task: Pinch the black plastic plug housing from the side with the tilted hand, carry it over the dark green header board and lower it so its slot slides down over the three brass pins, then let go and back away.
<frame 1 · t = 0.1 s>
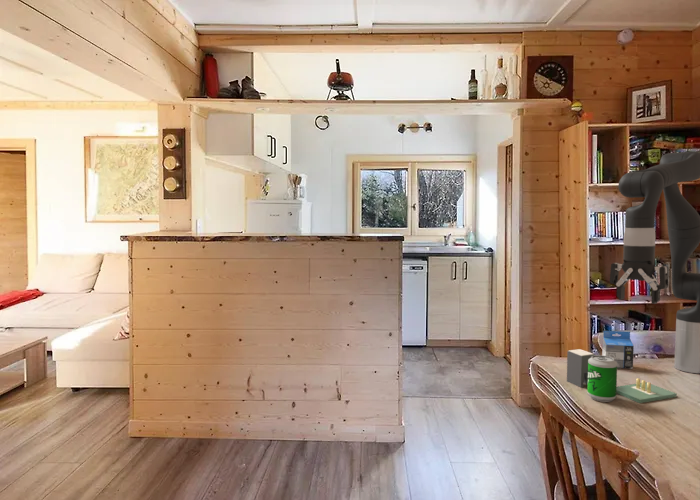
hand: (637, 301, 133), 29 cm above the table, tool pointing down, fingers open, 8 cm apart
plug housing: (580, 383, 150), on the table
soda can: (601, 398, 139), on the table
blue retail box: (617, 367, 166), on the table
header board: (643, 393, 141), on the table
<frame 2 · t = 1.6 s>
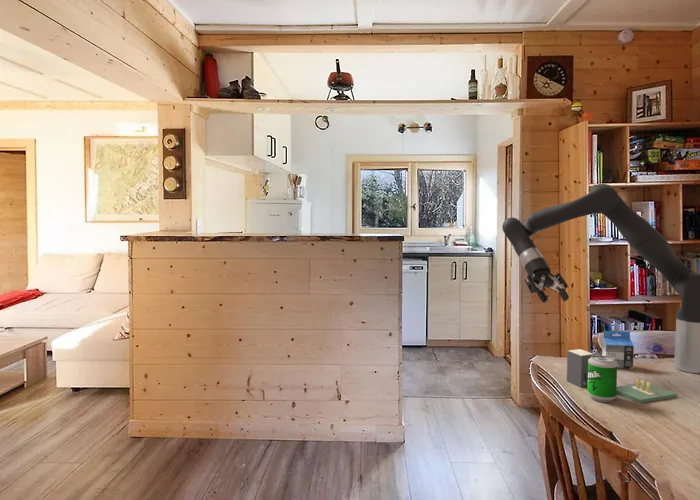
hand: (556, 300, 159), 25 cm above the table, tool tilted 45°, fingers open, 8 cm apart
nothing on the table moved.
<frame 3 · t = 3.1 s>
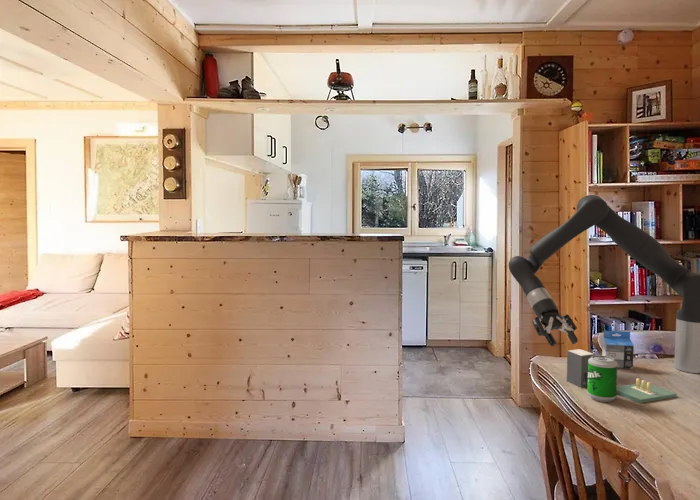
hand: (564, 344, 156), 11 cm above the table, tool tilted 45°, fingers open, 8 cm apart
nothing on the table moved.
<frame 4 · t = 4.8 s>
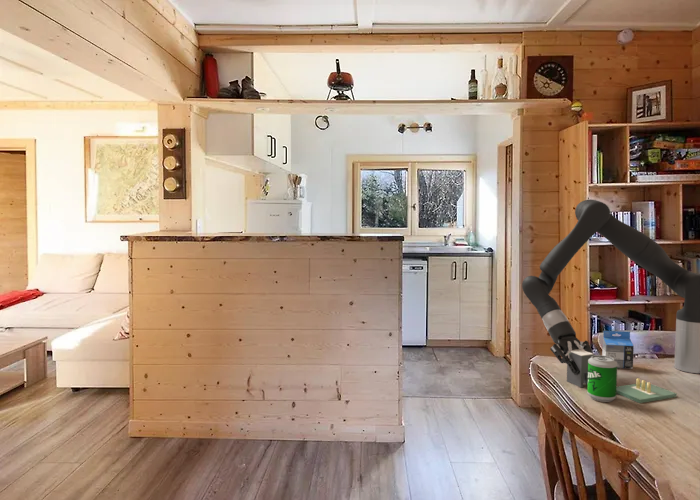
hand: (584, 372, 148), 4 cm above the table, tool tilted 45°, fingers closed on plug housing, 5 cm apart
plug housing: (580, 383, 150), on the table, touching gripper
everything else where it was.
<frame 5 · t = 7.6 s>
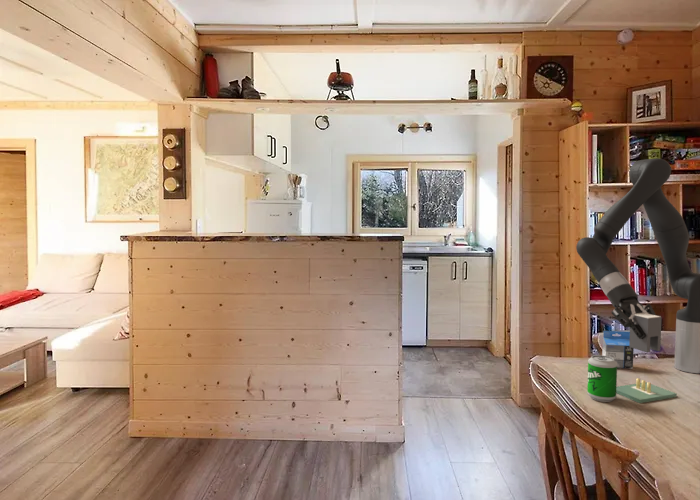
hand: (650, 336, 138), 18 cm above the table, tool tilted 45°, fingers closed on plug housing, 5 cm apart
plug housing: (644, 348, 140), point 14 cm above the table, touching gripper
everything else where it was.
when the fingers open (7 cm above the table, at t = 10.6 s): plug housing drops 1 cm, resting on header board.
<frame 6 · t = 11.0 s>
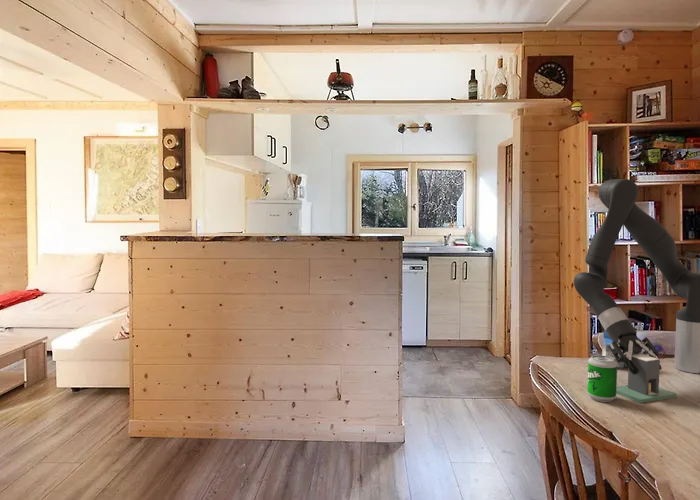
hand: (648, 371, 140), 7 cm above the table, tool tilted 45°, fingers open, 8 cm apart
plug housing: (642, 390, 141), point 1 cm above the table, touching header board
everything else where it was.
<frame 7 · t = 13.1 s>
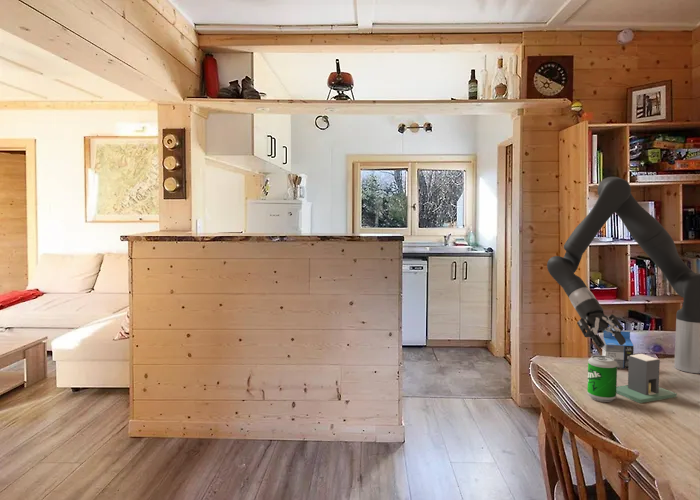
hand: (612, 345, 152), 12 cm above the table, tool tilted 45°, fingers open, 8 cm apart
nothing on the table moved.
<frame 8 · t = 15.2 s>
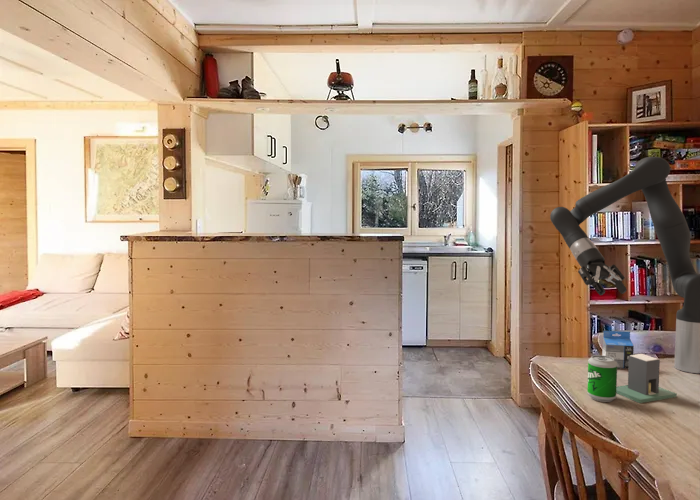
hand: (613, 293, 150), 29 cm above the table, tool tilted 45°, fingers open, 8 cm apart
nothing on the table moved.
at the end: plug housing 0.1 cm off-centre on the header board, point 1.0 cm above the header board's base; plug housing tilted 0°; the gripper is holding nothing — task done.
